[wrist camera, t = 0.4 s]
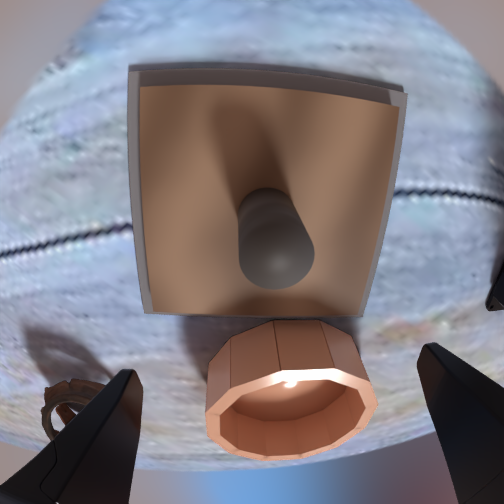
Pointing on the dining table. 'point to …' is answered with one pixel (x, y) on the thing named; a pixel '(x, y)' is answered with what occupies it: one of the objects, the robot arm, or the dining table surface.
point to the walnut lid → (261, 198)
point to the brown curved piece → (61, 395)
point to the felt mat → (259, 80)
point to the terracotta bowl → (287, 391)
